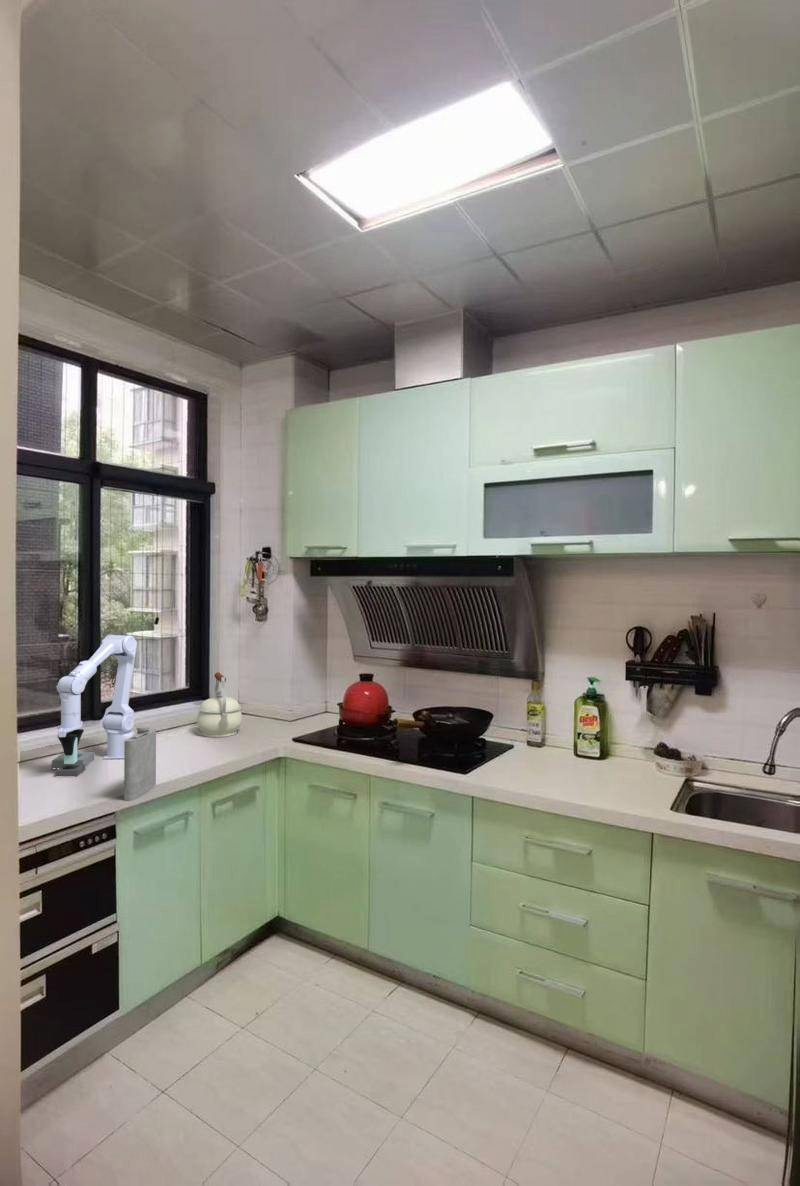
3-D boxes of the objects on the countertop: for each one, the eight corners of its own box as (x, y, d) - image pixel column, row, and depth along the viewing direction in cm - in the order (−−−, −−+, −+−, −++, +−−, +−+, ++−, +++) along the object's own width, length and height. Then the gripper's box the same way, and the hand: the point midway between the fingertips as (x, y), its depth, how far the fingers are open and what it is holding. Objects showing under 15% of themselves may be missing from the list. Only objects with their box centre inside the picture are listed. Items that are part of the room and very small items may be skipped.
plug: (77, 761, 208) (77, 734, 208) (73, 763, 205) (73, 737, 205) (67, 761, 208) (68, 734, 207) (64, 763, 205) (64, 737, 204)
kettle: (193, 729, 269) (194, 672, 268) (237, 726, 277) (237, 670, 276) (201, 743, 246) (202, 680, 246) (248, 739, 254) (249, 678, 253)
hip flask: (147, 783, 198) (148, 720, 197) (160, 783, 197) (160, 720, 197) (122, 800, 182) (122, 732, 181) (135, 801, 182) (135, 732, 181)
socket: (94, 760, 221) (94, 751, 221) (83, 768, 212) (83, 759, 211) (64, 760, 220) (64, 751, 220) (51, 769, 210) (51, 759, 210)
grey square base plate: (85, 770, 210) (85, 764, 210) (77, 776, 203) (77, 770, 203) (64, 770, 209) (64, 764, 209) (55, 776, 203) (55, 770, 203)
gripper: (67, 708, 213) (67, 747, 213) (48, 717, 198) (48, 760, 199) (89, 708, 214) (89, 747, 214) (71, 717, 199) (71, 759, 199)
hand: (70, 753), depth 206 cm, fingers closed on plug, 3 cm apart
